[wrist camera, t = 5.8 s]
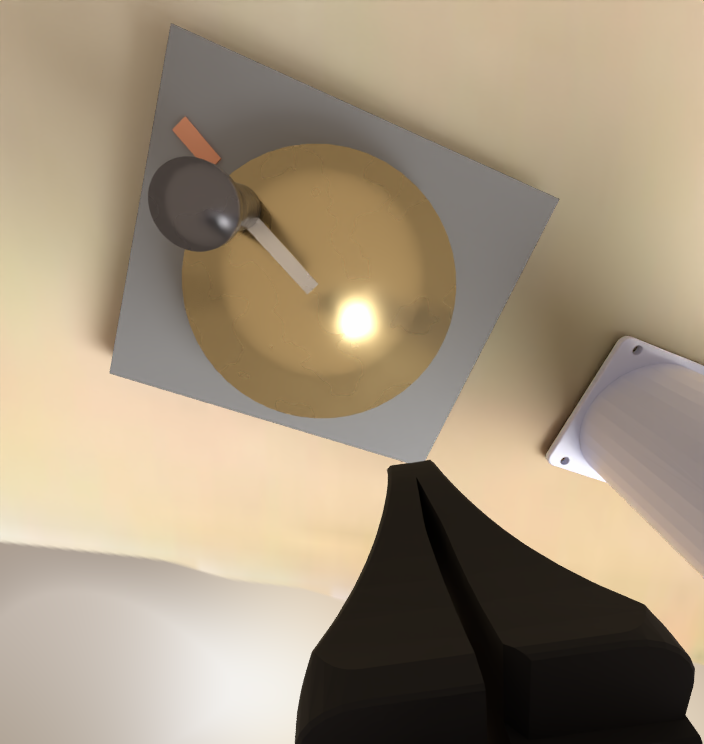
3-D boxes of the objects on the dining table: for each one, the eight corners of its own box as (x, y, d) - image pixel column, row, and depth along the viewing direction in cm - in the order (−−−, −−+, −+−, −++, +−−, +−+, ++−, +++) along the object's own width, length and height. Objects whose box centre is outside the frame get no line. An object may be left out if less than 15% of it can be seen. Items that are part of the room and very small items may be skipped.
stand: (542, 200, 18) (561, 199, 17) (416, 451, 23) (422, 468, 21) (185, 39, 16) (169, 20, 14) (124, 362, 20) (107, 374, 19)
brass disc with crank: (494, 301, 18) (579, 349, 12) (315, 444, 21) (308, 546, 14) (329, 77, 15) (327, -21, 9) (137, 277, 17) (24, 317, 11)
